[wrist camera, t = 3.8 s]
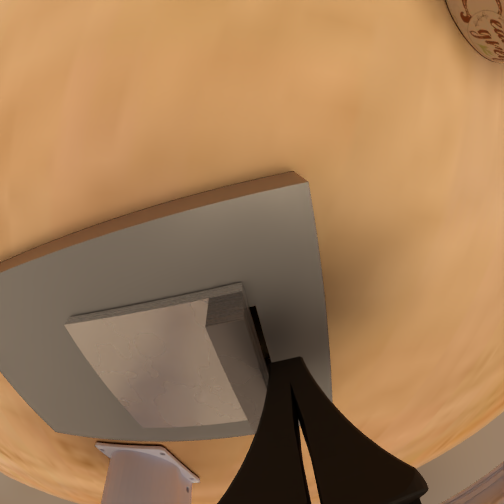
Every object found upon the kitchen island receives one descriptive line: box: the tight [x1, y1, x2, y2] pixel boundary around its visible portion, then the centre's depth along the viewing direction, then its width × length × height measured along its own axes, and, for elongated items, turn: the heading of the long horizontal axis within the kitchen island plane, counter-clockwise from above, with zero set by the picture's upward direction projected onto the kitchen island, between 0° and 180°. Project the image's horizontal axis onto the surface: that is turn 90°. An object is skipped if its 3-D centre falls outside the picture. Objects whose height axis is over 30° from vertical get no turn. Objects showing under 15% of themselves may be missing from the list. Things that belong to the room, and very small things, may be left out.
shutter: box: [64, 282, 269, 434], centre depth 11 cm, size 8×8×2 cm
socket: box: [0, 171, 332, 441], centre depth 13 cm, size 14×22×2 cm, turn 103°
